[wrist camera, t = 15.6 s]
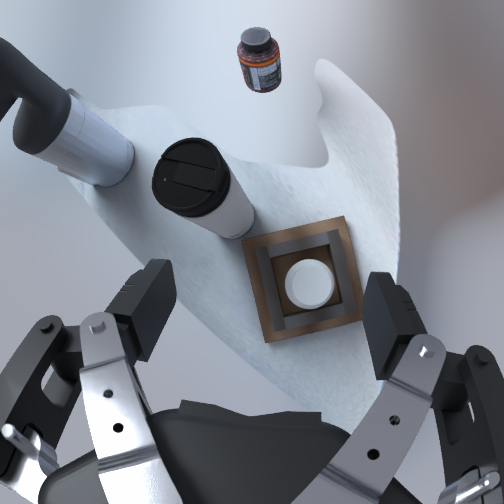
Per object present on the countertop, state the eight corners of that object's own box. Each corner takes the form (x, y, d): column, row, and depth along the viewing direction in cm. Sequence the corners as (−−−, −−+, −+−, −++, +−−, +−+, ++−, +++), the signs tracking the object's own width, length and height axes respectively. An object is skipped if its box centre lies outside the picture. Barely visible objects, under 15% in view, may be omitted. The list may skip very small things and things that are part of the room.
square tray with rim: (266, 340, 39) (263, 348, 35) (243, 241, 40) (238, 238, 36) (364, 316, 37) (372, 321, 33) (341, 217, 39) (347, 211, 35)
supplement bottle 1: (242, 71, 42) (230, 26, 31) (277, 65, 41) (272, 19, 30) (248, 97, 41) (236, 53, 30) (285, 91, 41) (282, 44, 30)
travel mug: (248, 245, 40) (209, 223, 20) (204, 231, 41) (134, 198, 21) (263, 203, 40) (239, 143, 20) (219, 190, 41) (163, 127, 21)
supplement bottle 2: (310, 310, 37) (316, 324, 27) (276, 286, 38) (272, 292, 28) (334, 276, 37) (349, 279, 27) (301, 252, 37) (305, 247, 28)
